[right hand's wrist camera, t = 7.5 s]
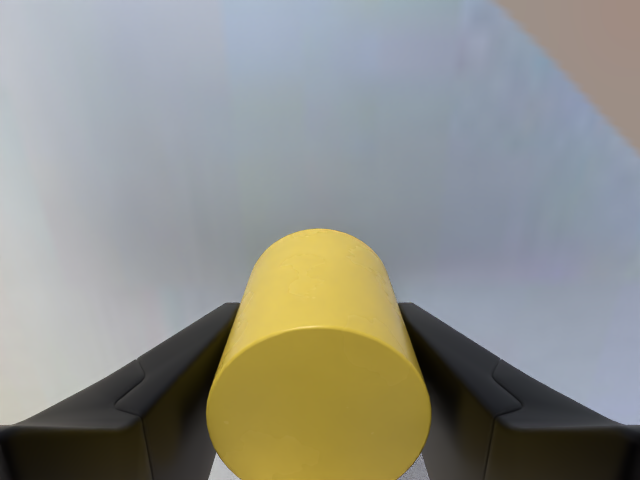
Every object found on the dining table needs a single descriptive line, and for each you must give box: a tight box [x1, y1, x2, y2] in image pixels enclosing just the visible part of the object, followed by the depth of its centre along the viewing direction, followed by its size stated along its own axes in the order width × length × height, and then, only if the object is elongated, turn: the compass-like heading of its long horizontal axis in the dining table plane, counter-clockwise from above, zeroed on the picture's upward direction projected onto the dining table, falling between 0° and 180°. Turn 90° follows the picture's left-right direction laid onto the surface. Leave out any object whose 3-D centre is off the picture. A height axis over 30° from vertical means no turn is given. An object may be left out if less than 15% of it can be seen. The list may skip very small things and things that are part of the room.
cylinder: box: [206, 229, 432, 480], centre depth 10 cm, size 4×4×5 cm
